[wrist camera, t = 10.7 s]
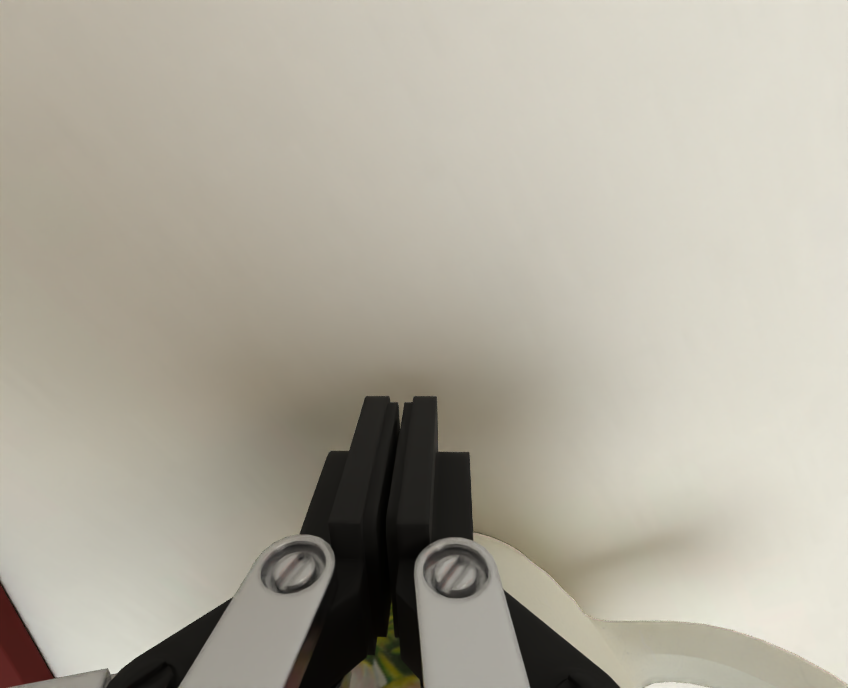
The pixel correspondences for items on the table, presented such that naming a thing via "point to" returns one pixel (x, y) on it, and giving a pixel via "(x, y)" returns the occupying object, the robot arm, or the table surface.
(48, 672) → the spatula
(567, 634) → the pitcher
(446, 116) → the table surface
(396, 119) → the table surface
